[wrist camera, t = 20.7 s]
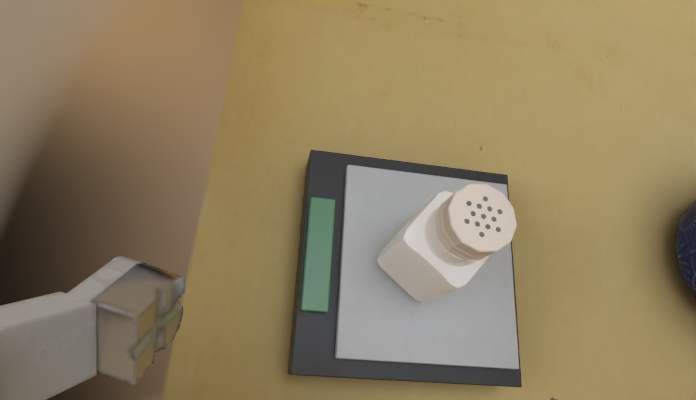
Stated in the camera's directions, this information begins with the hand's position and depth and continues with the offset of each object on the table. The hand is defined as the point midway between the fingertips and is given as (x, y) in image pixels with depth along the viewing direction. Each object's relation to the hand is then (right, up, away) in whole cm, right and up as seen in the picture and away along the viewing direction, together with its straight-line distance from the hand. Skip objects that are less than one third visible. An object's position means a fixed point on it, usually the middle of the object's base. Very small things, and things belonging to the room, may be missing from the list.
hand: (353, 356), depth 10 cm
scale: (+3, -2, +23) cm, 23 cm away
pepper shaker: (+4, -1, +19) cm, 20 cm away
